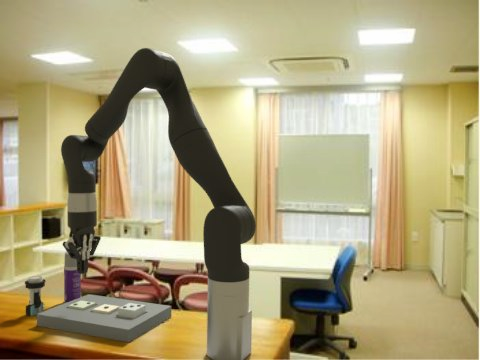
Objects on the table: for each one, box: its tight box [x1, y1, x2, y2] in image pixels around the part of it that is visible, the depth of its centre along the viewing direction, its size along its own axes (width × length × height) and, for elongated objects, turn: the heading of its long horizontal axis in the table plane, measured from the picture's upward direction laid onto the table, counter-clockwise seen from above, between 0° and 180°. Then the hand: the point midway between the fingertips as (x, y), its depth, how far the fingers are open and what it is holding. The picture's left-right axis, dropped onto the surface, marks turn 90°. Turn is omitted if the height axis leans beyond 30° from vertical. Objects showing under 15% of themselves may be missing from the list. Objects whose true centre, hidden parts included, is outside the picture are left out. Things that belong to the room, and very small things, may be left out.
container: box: [63, 251, 82, 304], centre depth 141 cm, size 5×5×15 cm
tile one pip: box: [93, 304, 120, 315], centre depth 124 cm, size 5×5×3 cm
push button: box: [24, 275, 46, 317], centre depth 131 cm, size 7×5×10 cm
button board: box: [36, 293, 172, 343], centre depth 124 cm, size 28×20×3 cm
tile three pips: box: [118, 303, 145, 319], centre depth 121 cm, size 5×5×3 cm
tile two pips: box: [68, 301, 96, 311], centre depth 127 cm, size 5×5×3 cm
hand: (82, 273), depth 127 cm, fingers closed
